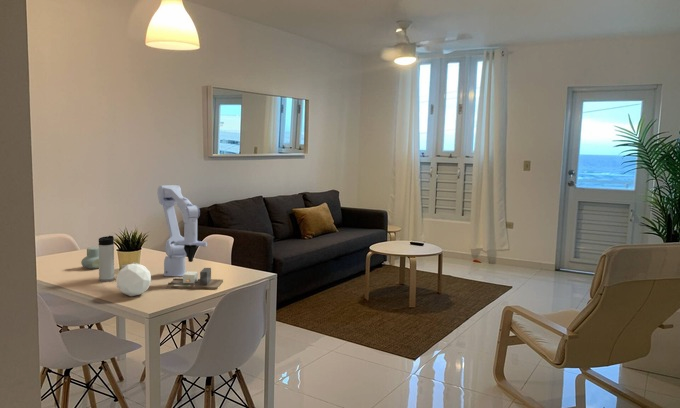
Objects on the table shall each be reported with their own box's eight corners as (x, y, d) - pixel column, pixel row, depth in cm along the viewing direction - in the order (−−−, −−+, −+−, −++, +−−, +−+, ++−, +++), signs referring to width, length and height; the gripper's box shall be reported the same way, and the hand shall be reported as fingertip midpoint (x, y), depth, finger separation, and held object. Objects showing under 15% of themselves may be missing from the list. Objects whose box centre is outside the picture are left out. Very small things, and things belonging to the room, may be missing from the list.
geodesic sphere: (105, 287, 200) (128, 259, 202) (106, 278, 212) (127, 252, 214) (137, 306, 205) (159, 278, 207) (136, 296, 218) (156, 270, 220)
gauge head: (181, 285, 222) (181, 276, 222) (186, 280, 231) (186, 271, 230) (192, 285, 222) (192, 276, 222) (197, 280, 231) (197, 271, 231)
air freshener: (88, 271, 246) (88, 250, 245) (78, 268, 250) (77, 248, 249) (108, 267, 255) (108, 247, 254) (98, 264, 259) (98, 245, 258)
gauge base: (166, 288, 221) (166, 272, 221) (175, 280, 234) (175, 265, 234) (216, 289, 222) (217, 273, 221) (223, 281, 235) (223, 266, 234)
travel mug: (118, 279, 233) (117, 236, 231) (107, 282, 227) (106, 238, 225) (107, 277, 235) (106, 235, 233) (96, 281, 229) (95, 237, 227)
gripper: (172, 233, 227) (172, 262, 229) (204, 234, 227) (204, 263, 229) (177, 230, 234) (177, 259, 236) (208, 231, 234) (208, 260, 236)
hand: (190, 261), depth 233 cm, fingers closed
